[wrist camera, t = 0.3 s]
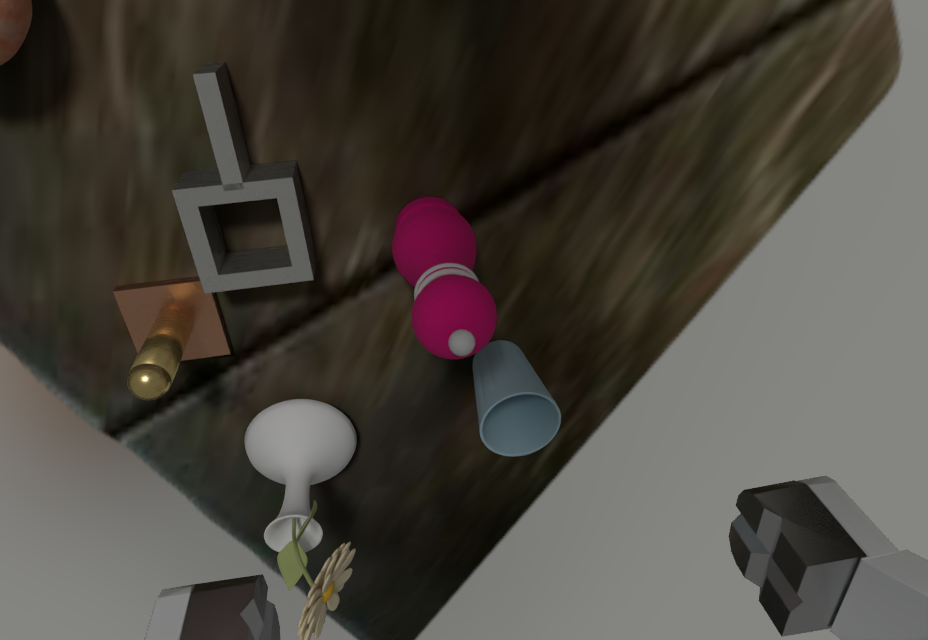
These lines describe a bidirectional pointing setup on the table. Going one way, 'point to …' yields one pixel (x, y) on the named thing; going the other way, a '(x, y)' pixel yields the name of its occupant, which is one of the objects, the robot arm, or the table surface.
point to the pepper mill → (443, 279)
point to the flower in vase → (303, 493)
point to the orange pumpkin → (13, 26)
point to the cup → (512, 401)
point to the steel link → (240, 200)
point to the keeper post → (169, 330)
